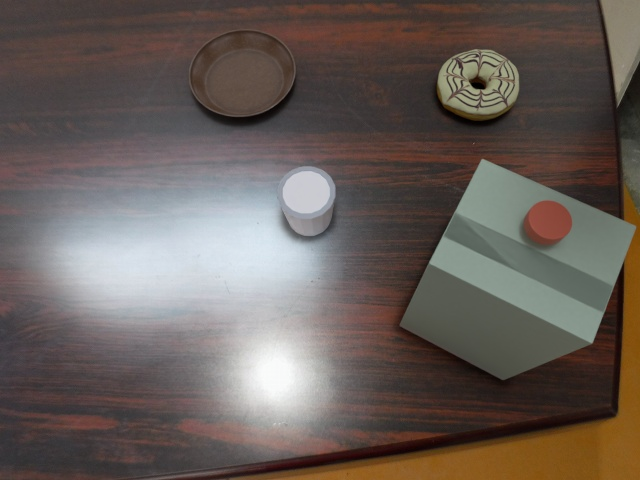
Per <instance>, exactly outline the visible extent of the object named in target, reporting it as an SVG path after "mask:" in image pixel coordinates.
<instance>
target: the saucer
mask: <svg viewBox="0 0 640 480" xmlns="http://www.w3.org/2000/svg"><path fill="white" fill-rule="evenodd" d="M296 69H297V68H296V61H295V57H294V55H293V54H292V51H291V49H290V48H289V47H288V46H287V45H286V43H284V41H282V40H281V39H280V38H279V37H276V36H275V35H273V34H272V33H269V32H267V31H263V30H259V29H253V28H239V29H233V30H229V31H224V32H222V33H220V34H217V35H216V36H214V37H212V38H210V39H208V40H207V41H206V42H204V44H203V45H202V46H201V47H199V48H198V50H197V52H196V53H195V54H194V55H193V58H192V59H191V62H190V65H189V68H188V84H189V88H190V90H191V92H192V94H193V96H194V97H195V99H196V100H197V101H198V102H199V103H200V104H201V105H202V106H203V107H204V108H206V109H208V110H210V111H211V112H213V113H215V114H219V115H222V116H226V117H233V118H246V117H253V116H257V115H260V114H261V115H262V114H263V113H265V112H267V111H269V110H270V109H272V108H274V107H276V106H277V105H278V104H279V103H280V102H282V100H284V99H285V97H286V96H287V95H288V93H289V92H290V91H291V89H292V87H293V85H294V81H295V78H296Z"/></svg>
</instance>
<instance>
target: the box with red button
mask: <svg viewBox="0 0 640 480" xmlns="http://www.w3.org/2000/svg"><path fill="white" fill-rule="evenodd" d="M546 200H550V201H555V202H558V203H560V204H561V205H563V206H564V207H565V208H566V209H567V210H568V211H569V213H570V215H571V218H572V228H571V230H570V232H569V233H568V234H567V235H566V236H565V237H564V238H563V239H562V240H561V241H560V242H558V243H556V244H553V245H543V244H539V243H537V242H535V241H534V240H532V239H531V238H530V237H529V236H528V235H527V233H526V231H525V229H524V218H525V216H526V214H527V213H528V211H529V210H530V209H531V208H532V206H533V205H535V204H536V203H538V202H540V201H546ZM637 228H638V227H637V225H635V224H632V223H630V222H628V221H626V220H623V219H621V218H619V217H616V216H614V215H612V214H610V213H607V212H605V211H603V210H602V209H601V210H600V209H598V208H596V207H594V206H592V205H590V204H587V203H584V202H582V201H579V200H578V199H576V198H573V197H571V196H568V195H566V194H564V193H562V192H559V191H558V190H555V189H552V188H550V187H548V186H547V185H546V186H545V185H543V184H541V183H539V182H537V181H535V180H532V179H530V178H528V177H525V176H523V175H520V174H518V173H516V172H514V171H512V170H509V169H507V168H505V167H502V166H500V165H497V164H496V163H493V162H491V161H489V160H486V159H484V158H481V160H480V162H479V164H478V165H477V167H476V170H475V171H474V173H473V175H472V177H471V179H470V181H469V183H468V185H467V187H466V189H465V191H464V193H463V195H462V197H461V199H460V201H459V203H458V205H457V207H456V208H455V211H454V212H453V215H452V217H451V218H450V220H449V222H448V224H447V226H446V229H445V230H444V232H443V234H442V236H441V238H440V239H439V242H438V244H437V246H436V248H435V250H434V251H433V254H432V256H431V258H430V260H429V262H428V264H427V266H426V268H425V270H424V272H423V274H422V276H421V278H420V280H419V282H418V285H417V288H416V289H415V291H414V293H413V296H412V297H411V299H410V302H409V304H408V306H407V308H406V310H405V312H404V314H403V316H402V318H401V321H400V323H399V327H400V328H403V329H404V330H406V331H408V332H410V333H411V334H413V335H415V336H418V337H419V338H421V339H423V340H425V341H427V342H429V343H431V344H433V345H435V346H436V347H439V348H440V349H443V350H444V351H446V352H447V353H450V354H452V355H454V356H456V357H458V358H459V359H461V360H464V361H465V362H467V363H469V364H471V365H473V366H474V367H477V368H479V369H480V370H482V371H484V372H486V373H488V374H490V375H492V376H494V377H496V378H498V379H500V380H501V381H505V380H508V379H510V378H512V377H515V376H517V375H520V374H522V373H524V372H527V371H529V370H531V369H534V368H536V367H540V366H542V365H544V364H546V363H549V362H552V361H553V360H556V359H558V358H561V357H563V356H566V355H568V354H570V353H573V352H576V351H578V350H580V349H583V348H585V347H587V346H590V345H593V344H594V341H595V338H596V335H597V332H598V330H599V327H600V325H601V322H602V319H603V317H604V315H605V312H606V309H607V306H608V304H609V301H610V298H611V296H612V293H613V291H614V288H615V285H616V282H617V280H618V278H619V275H620V272H621V270H622V267H623V264H624V261H625V259H626V256H627V253H628V251H629V248H630V245H631V243H632V240H633V238H634V235H635V233H636V229H637Z"/></svg>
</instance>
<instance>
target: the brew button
mask: <svg viewBox="0 0 640 480" xmlns="http://www.w3.org/2000/svg"><path fill="white" fill-rule="evenodd" d="M571 228H572V218H571V215H570V213H569V211H568V210H567V209H566V208H565V207H564V206H563V205H561V204H560V203H558V202H555V201H550V200H546V201H540V202H538V203H536V204H535V205H533V206H532V208H531V209H530V210H529V211H528V213H527V214H526V216H525V218H524V229H525V231H526V233H527V235H528V236H529V237H530V238H531V239H532V240H534V241H535V242H537V243H539V244H543V245H553V244H556V243H558V242H560V241H561V240H562V239H563V238H564V237H565V236H566V235H567V234H568V233H569V232H570V230H571Z"/></svg>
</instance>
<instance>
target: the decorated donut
mask: <svg viewBox="0 0 640 480" xmlns="http://www.w3.org/2000/svg"><path fill="white" fill-rule="evenodd" d="M519 75H520V74H519V72H518V69H517V67H516V65H514V64H513V62H512V61H511V60H510V59H509V58H507V57H505V56H503V55H502V54H499V53H498V52H496V51H494V50H492V49H478V48H476V49H475V48H474V49H472V50H468V51H464V52H461V53H458V54H455V55H453V56H452V57H450V58H449V59H448V60H446V61H445V62H444V63H443V64H442V66H441V68H440V70H439V72H438V77H437V81H436V94H437V97H438V100H439V101H440V103H441V105H442V106H443V108H444V109H445V110H447V111H449V112H451V113H453V114H454V115H456V116H459V117H461V118H464V119H467V120H471V121H474V122H475V121H478V122H479V121H480V122H482V121H489V120H493V119H495V118H498V117H500V116H501V115H503V114H505V113H506V112H507V111H509V110H510V109H511V108H513V106H514V105H515V104H516V102H517V98H518V97H519V92H520V76H519ZM472 83H475V84H476V83H479V84H481V85H482V86H484V89H479V88H475V87H473V86H472Z"/></svg>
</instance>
